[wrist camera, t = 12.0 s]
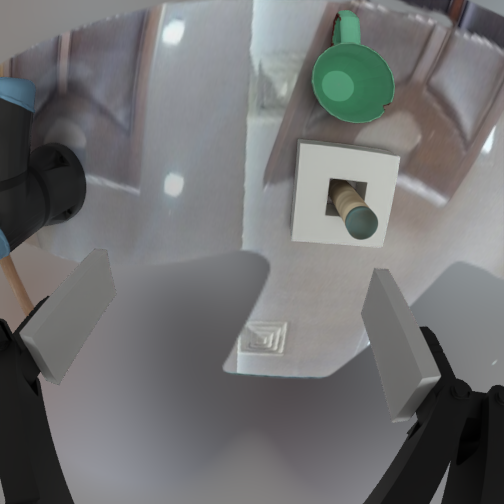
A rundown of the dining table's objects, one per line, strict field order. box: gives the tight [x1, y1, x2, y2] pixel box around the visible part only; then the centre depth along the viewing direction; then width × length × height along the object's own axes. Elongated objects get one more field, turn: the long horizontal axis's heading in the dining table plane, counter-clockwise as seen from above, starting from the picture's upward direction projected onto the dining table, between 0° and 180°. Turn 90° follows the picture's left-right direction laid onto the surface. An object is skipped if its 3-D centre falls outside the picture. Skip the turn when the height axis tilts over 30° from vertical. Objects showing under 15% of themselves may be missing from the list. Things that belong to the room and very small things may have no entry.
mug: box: [311, 10, 395, 124], centre depth 31 cm, size 15×10×10 cm
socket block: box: [290, 139, 400, 248], centre depth 42 cm, size 14×14×5 cm
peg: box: [328, 179, 378, 240], centre depth 38 cm, size 4×4×14 cm
